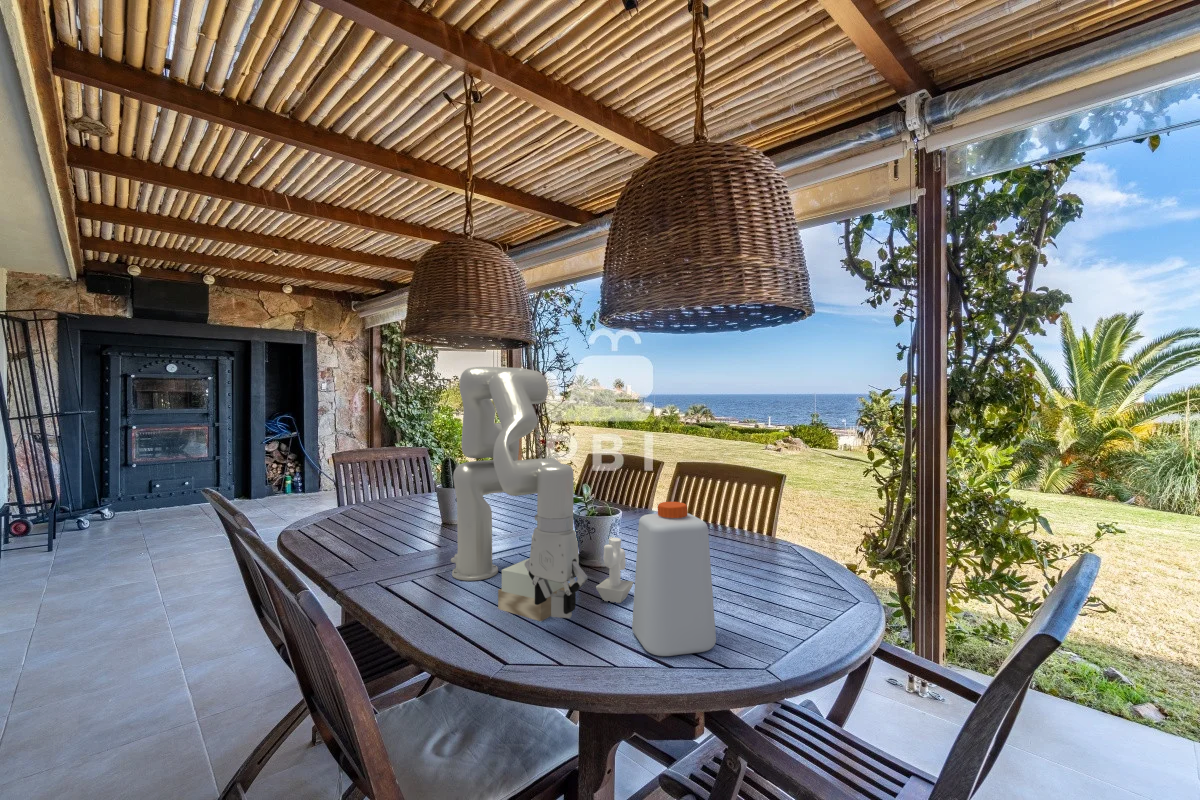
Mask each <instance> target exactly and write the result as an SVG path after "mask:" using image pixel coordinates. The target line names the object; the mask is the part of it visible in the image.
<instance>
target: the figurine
mask: <svg viewBox="0 0 1200 800" xmlns="http://www.w3.org/2000/svg"><path fill="white" fill-rule="evenodd" d="M621 545H622V539H621V538H619V537H613V536H610V537H609V538H608V544H605V545H604V546H603V563H604V566H605V567H606V568H608V569H609V570H608V571H609V573H608V574H609V577H607V578H605V579H604V580H603V581H601V582H600V583H599V584H598V585H596V586H595V588H596V589H595V590H596V591H597V592H598V594H599V595H600V597H601V599H602V601H603V600H604V601H603V602H608V601H610V602H609V603H614V602H616V603H615V604H621V603H622V602H624V600H625V599H626V598H627V597H628V596H629V593H630V592H631V588H632V587H633V585H634V584H635V581H632V580H626V579H621V578H622V576H621V571H623V570H625V569H626V552H625V549H624V548H621V547H622V546H621Z"/></svg>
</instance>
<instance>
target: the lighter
mask: <svg viewBox="0 0 1200 800" xmlns="http://www.w3.org/2000/svg"><path fill="white" fill-rule="evenodd" d="M538 583H539V585H540V587H541V590H542V592H543V594H544V596H545V598H548V597H551V616H550V617H551V618H562V619H571V617H573V616H572V615H573V611H572V612H570V613H568V614H564V612H563V606H564V595H565V594H566V592H565V590H558V591H557V594H555V593H554V594H553V592H552V589H551V587H550V585H549V583H548V581H547V579H543V578H539V579H538Z"/></svg>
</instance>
